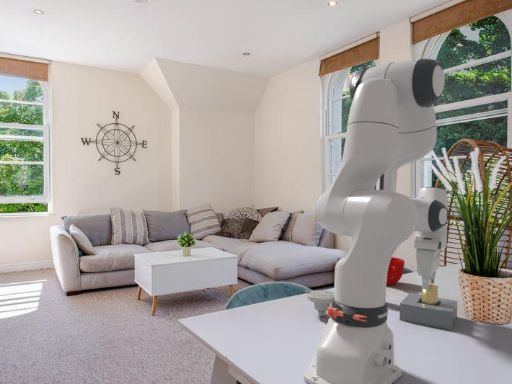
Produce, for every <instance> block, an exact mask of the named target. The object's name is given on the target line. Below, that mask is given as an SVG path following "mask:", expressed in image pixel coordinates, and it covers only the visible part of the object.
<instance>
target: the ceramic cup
mask: <svg viewBox="0 0 512 384" xmlns="http://www.w3.org/2000/svg"><path fill="white" fill-rule="evenodd" d="M404 269H405V260H404V259H402V258H398V257H394V256H392V258H391V260H390V263H389V266H388V271H387V281H386V286H394V285H393V284H395V285H396V284H397V283H398V282H399V281H400V280H401V278H402V276H403V275H404Z"/></svg>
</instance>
